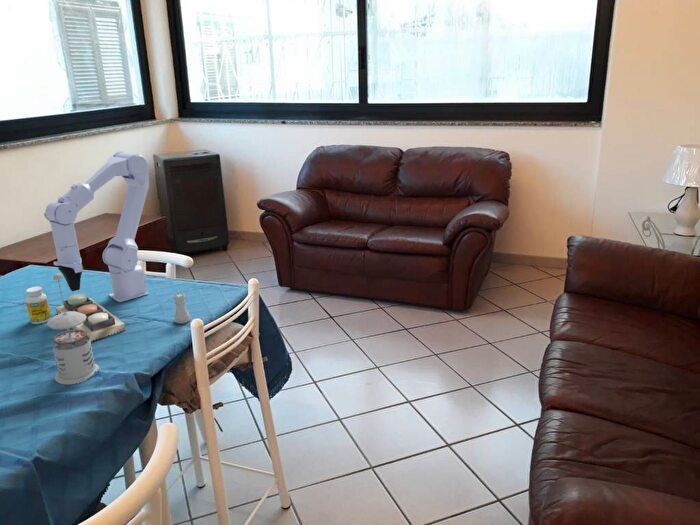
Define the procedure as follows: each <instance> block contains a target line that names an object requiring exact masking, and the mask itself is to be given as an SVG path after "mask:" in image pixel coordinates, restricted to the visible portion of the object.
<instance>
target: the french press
mask: <svg viewBox="0 0 700 525" xmlns="http://www.w3.org/2000/svg"><path fill="white" fill-rule="evenodd" d="M52 276H53V277H52V278H53V280H54V281H57V283H58V288H59V292H60V298H61V302H62V306H63V307H64V302H63V301H64V299H63V291H62V288H61V283H60V280H62V279H63V277H64V275H63V274H62V273H61V272H58V273H54V274H53V275H52ZM85 320H86V315H85V314H82V313H79V312H75V311H69V312H65V307H64V313H60V314H58V315H57V314H56V315H53V317H52V316H51V319H50V320H49V321H47V322H46V325H47V327H49V328H50V329H52V330H65V331H62V332H59V333H57V334H55V336H54V337H53V338H52V342H53V344H52V351H53V355H54V360H55V364H56V368H57V373H56V375H55V376H54V380H55V382H56V383H58V384H61V385H74V384H76V383H77V384H80V383H79V382H81V383H83V382H82V381H84V380H86V379H87V378H89V377H90V376H92V375H93V374H94V372H95V371H97V369H99V367H100V365H99V364H97V363H95V359H94V352H93V348H92V341H90V338H89V337H88V336H87V332H86V331H85V330H82V329H81V330H79V329H76V326H78V325H80V324H82V323H83V322H85ZM72 327H75V329H73V328H72ZM86 340H89V341H88V342H87V341H86ZM73 344H75V348H73ZM59 346H60V347H59ZM56 347H58V348H56ZM89 351H90V352H89ZM57 358H58V359H57ZM98 365H99V366H98ZM84 382H85V381H84Z"/></svg>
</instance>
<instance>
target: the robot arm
mask: <svg viewBox="0 0 700 525" xmlns="http://www.w3.org/2000/svg"><path fill="white" fill-rule="evenodd" d="M149 170H150V163H149V162H148V160H147V158H146V157H145V156H144V155H143V154H140V153H130V152H124V151H118V152H115V153H114V154H113V155H112V156H110V157H109V158H107V161H106V162H105V163H104V165H102V166H101V168H99V169H98V170H97V171H96V172H95V173H94V174H93V175H92V176H91V177H89V178H88V180H87V181H86V182H84V183H76V184H72V185H71V186H70V188H71V189H70V190H68V191H67V192H66V193H64V194H63V195H62V196H59V197H57V201H56V200H55V201H52V202H49V204H47V205H46V208H45V210H44V211H45V212H44V213H43V216H44V218H45V219H46V220H47V221H48V222H49V224H50V228H51V233H52V238H53V243H54V248H55V254H56V258H57V261H53V266H56V267H58V266H59V267H58V268H57V269H58V271H60V274H62V276H63V277H64V279H65V281H66V283H67V286H68V287H69V289H70V291H71V292H76V291H79V290H80V289H81V279H82V278H81V277H82V273H83V272H84V268H85V267H84V266H83V264H82V262H83V261H82V260H83V259H82V257H81V254H80V249H79V243H78V238H77V233H76V227H75V223H74V222H75V221H76V219H77V216H78V213H79V212H80V211H81V210H82V209H84V207H86V206H87V205H88V204H89V203H91V201H93V200H94V199H95V196H94V195H95V192H96V191H98V190H99V189H100V188H101V189H102V187H103V186H105V185H106V184H107V183H108V182H109V181H111V180H113V179H114V178H115V177H122V178H123V180H124V181H125V183H126V184H127V185H128V188H127V189H128V190H127V193H126V196H125V198H124V203H123V207H122V210H121V214H120V218H119V220H118V221H119V222H118V226H117V229H116V233H115V235H114V236H113V237H112V238H111V239H110V240H109V241H108V244H107V246H106V247H105V249H104V250H103V252H102V260H103V262H104V264H106V265H107V266H108V270H109V276H110V277H109V278H110V282H111V288H112V293H108V296H109V298H111V299H112V300H114V301H116V302H117V303H122V302H126V301H129V300H133V299H136V298H139V297H142V296H143V297H144V296H146V295H149V292H148V288H147V282H146V274H145V271H144V269H143V267H142V266H141V265H140V264H138V260H139V257H138V256H139V255H138V250H139V247H138V245H137V243H136V241H135V239H136V235H137V231H138V230H139V229H138V228H139V226H140V225H139V224H140V221H141V218H142V213H143V210H144V206H145V202H146V199H147V195H148V192H149V187H150V179H149Z"/></svg>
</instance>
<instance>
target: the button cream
mask: <svg viewBox="0 0 700 525" xmlns="http://www.w3.org/2000/svg"><path fill="white" fill-rule="evenodd" d="M107 319H109V318H108V314H107V313H96V314H93V315H91V316H89V317H88V322H90V323H91V324H94V323H98V322H101V321H104V320H107Z"/></svg>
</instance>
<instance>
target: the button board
mask: <svg viewBox="0 0 700 525" xmlns="http://www.w3.org/2000/svg"><path fill="white" fill-rule="evenodd" d="M86 297H87V302H86V303H82V304H79V305H75V306H72V307H71V306H70V305H68V300H67V299H66V300H63V302H64V307H65V312H69V311H75V312H78V310H77V309H78V308H79V307H81V306H84V305H89V304H94V305H97V309H98V310H97V311H94V312H90V313H87V314H85V315H86V320H85V322H83V323H82V324H80V325H78V326H76V329H79V330H81V329H82V330H85V331H86V332H87V336H88V337H89V338H90V341H91V342H93V340H94V341H97V340H99V338H100V339H102V338H106V337H109V336H112V335H115V334H118V333H121V332H120V331H122V332H124V331H123V330H125V331H126V326H125V322H123V321H122V320H120V319H119V318H118V317H117V316H115V315H114V314H113V313H111V312H110V311H109V310H107V309H106V308H105V307H104V306H102V305H101V304H100V303H98V302H97V301H96V300H94V299H93V298H91V297H88V296H86ZM63 302H62V303H63ZM64 307H63V305H59V306H57V307H55V311H56V312H55V313H56V315H57V314H60V313H64ZM96 313H107V314H108V318H109V319H107V320H104V321H101V322H98V323H94V324H91V323H90V322H88V317H89V316H91V315H93V314H96ZM71 329H72V330H74V329H75V327H72V328H71ZM117 332H118V333H117ZM114 333H115V334H114ZM111 334H112V335H111ZM108 335H109V336H108ZM96 339H97V340H96ZM88 341H89V340H86V341H85V342H86V343H87V342H88Z"/></svg>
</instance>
